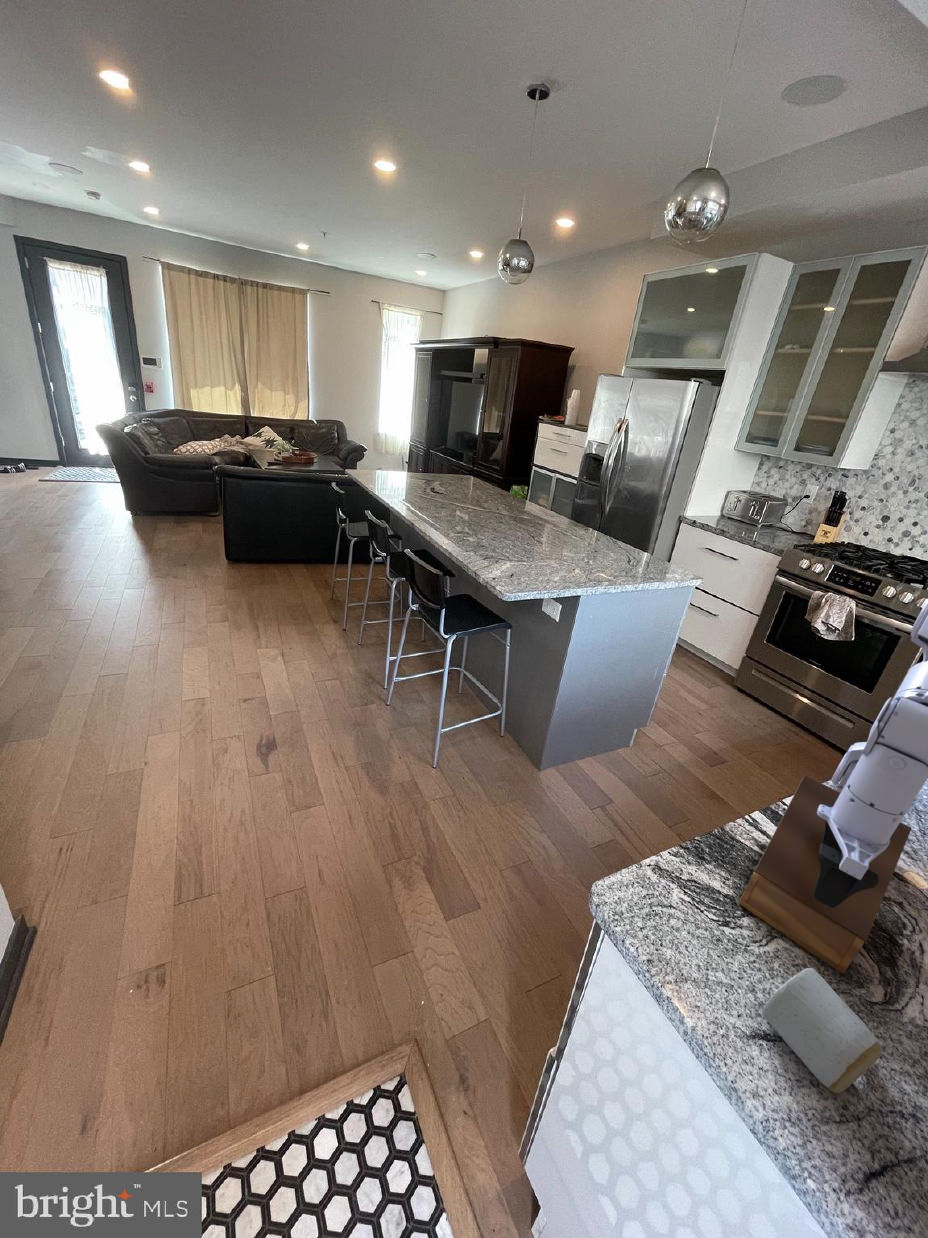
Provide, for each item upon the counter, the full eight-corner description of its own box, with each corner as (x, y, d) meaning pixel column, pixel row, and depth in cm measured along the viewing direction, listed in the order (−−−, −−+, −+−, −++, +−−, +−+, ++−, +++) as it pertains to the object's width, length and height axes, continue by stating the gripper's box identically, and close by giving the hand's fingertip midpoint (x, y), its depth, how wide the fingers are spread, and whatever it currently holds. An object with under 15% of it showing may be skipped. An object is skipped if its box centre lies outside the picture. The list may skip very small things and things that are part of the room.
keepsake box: (767, 847, 81) (781, 819, 79) (860, 902, 74) (878, 873, 72) (738, 903, 70) (753, 873, 68) (842, 974, 63) (863, 943, 61)
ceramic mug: (826, 1112, 49) (862, 1067, 46) (751, 1024, 56) (778, 979, 53) (880, 1063, 54) (916, 1020, 51) (805, 988, 61) (833, 945, 58)
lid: (803, 776, 74) (804, 774, 74) (910, 829, 67) (911, 827, 66) (754, 872, 68) (754, 870, 68) (864, 942, 61) (866, 940, 60)
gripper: (837, 752, 65) (795, 831, 70) (831, 810, 54) (782, 898, 59) (905, 780, 62) (855, 861, 67) (913, 848, 50) (853, 939, 56)
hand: (825, 881), depth 63 cm, fingers open, 7 cm apart
